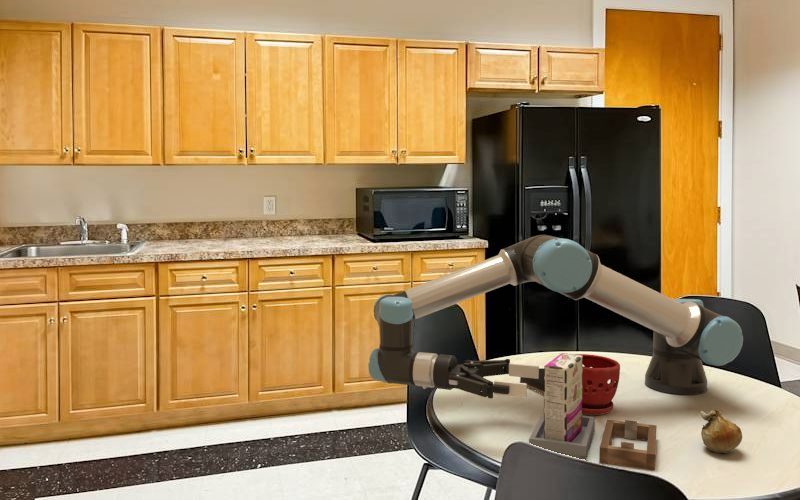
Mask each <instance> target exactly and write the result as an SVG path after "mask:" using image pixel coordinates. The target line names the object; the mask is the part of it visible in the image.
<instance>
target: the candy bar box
mask: <svg viewBox="0 0 800 500" xmlns="http://www.w3.org/2000/svg"><path fill="white" fill-rule="evenodd" d="M582 361H583V356H581V355H574V354H573V353H566V352H561V353H559V355H557V356H555V358H553V359H552V360H551V361H548V363H546V364H545V365H544V366H543V367H544V395H543V398H544V400H543V401H544V403H543V408H544V409H543V412H544V439H550V440H557V441H565V442H571V441H572V440H573V439H574V438H575V437H576V436H577V434H578V433H579V432H580V431H581V430H582V416H583V414H582V367H584V365H583V364H582Z"/></svg>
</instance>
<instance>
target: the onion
mask: <svg viewBox="0 0 800 500" xmlns="http://www.w3.org/2000/svg"><path fill="white" fill-rule="evenodd" d="M699 415H700V417H701V418H702V419H703V420H704V421H706V423H705V425H702V428H701V433H700V434H701V439H702V442H703V444H704V446H705V447H706V448H708V449H709V450H710V451H712V452H714V453H718V454H719V453H721V454H722V453H724V454H729V453H732V451H734V450H735V449H736V448H737V447H739V445H740V444H741V443H742V440H743V432H742V430H741V428H740V426H739V425H737V424H736V423H734V422H732V421H731V420H729V419H727V418H725V417H723V415H722V412H721V410H718V409H715V410H711V411H710V412H708V413H706V412H705V411H703V410H701V411H700V412H699Z"/></svg>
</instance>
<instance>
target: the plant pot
mask: <svg viewBox="0 0 800 500" xmlns="http://www.w3.org/2000/svg"><path fill="white" fill-rule="evenodd" d="M574 355H581V356H583V361H582V366H583V367H582V415H584V416H597V415H598V416H600V415H605V414H608V413H610V412H611V411H612V410H613V408H614V406H615V405H614V402H613V401H612V400H613V399H614V397H615V395H616V393H617V390H618V387H619V382H620V373H621V365H620V362H618V361H617V360H616V359H613V358H611V357H607V356H603V355H602V356H601V355H596V354H590V353H589V354H588V353H575V354H574ZM609 380H610V382H609V383H608V381H609Z"/></svg>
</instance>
